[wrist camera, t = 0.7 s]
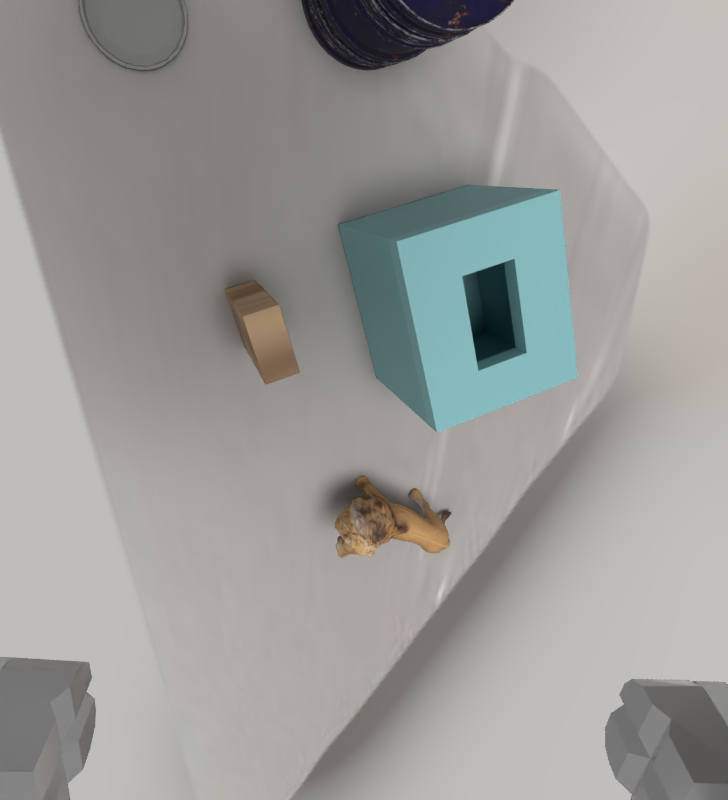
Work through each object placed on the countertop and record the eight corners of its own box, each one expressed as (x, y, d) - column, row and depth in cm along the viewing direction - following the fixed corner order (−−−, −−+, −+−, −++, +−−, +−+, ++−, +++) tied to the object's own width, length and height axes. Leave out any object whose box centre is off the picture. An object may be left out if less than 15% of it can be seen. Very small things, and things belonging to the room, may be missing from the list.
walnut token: (224, 289, 48) (242, 316, 39) (254, 280, 49) (278, 304, 40) (244, 346, 50) (265, 384, 42) (273, 337, 51) (299, 372, 42)
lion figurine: (310, 517, 58) (336, 573, 50) (325, 467, 57) (354, 516, 49) (440, 531, 64) (482, 582, 56) (457, 486, 63) (502, 532, 55)
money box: (338, 224, 49) (396, 241, 38) (468, 185, 52) (559, 189, 40) (376, 377, 55) (437, 432, 44) (491, 335, 58) (577, 377, 46)
